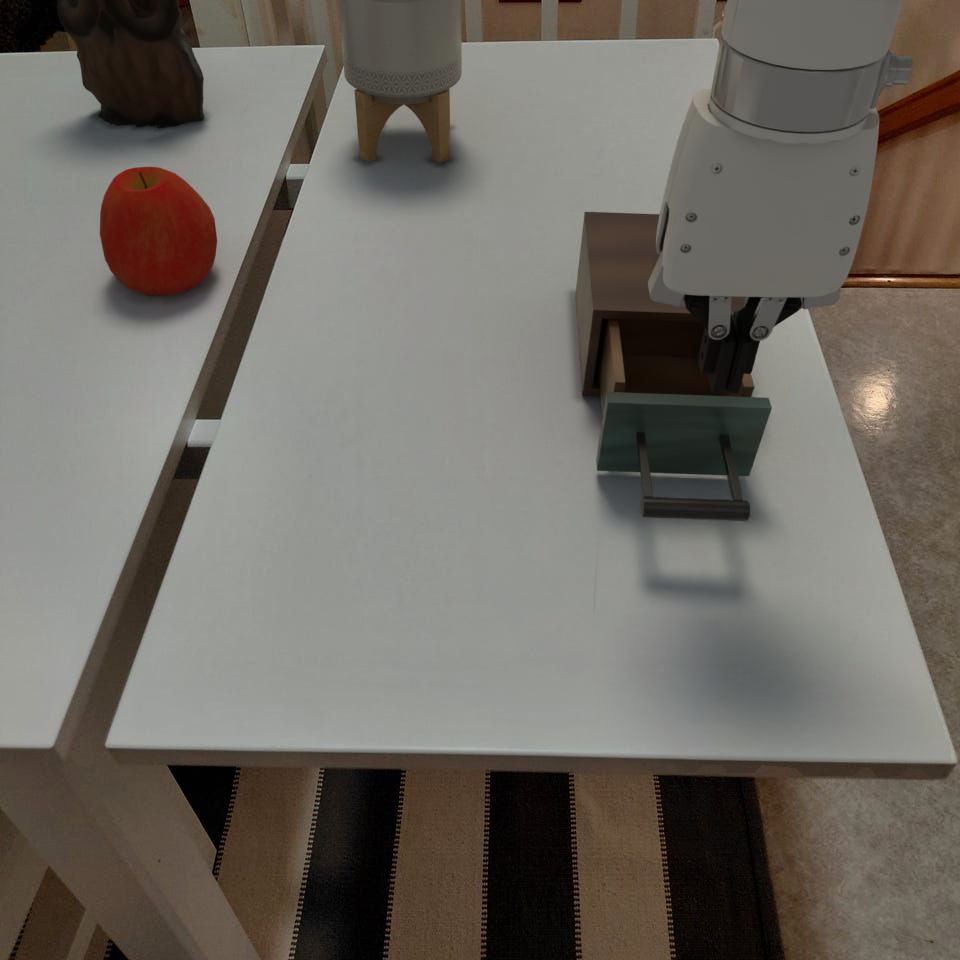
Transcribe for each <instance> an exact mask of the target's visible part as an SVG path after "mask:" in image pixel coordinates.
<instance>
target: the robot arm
mask: <svg viewBox="0 0 960 960" xmlns="http://www.w3.org/2000/svg"><path fill="white" fill-rule="evenodd" d="M903 4H904V0H727V1H726V5H725V11H724V12H725V13H724V16H723V21H722V27H721V32H720V38H719V44H718V49H717V55H716V59H715V67H714V72H713V77H712V82H711V87H710V88H705V89H701V90H699V91H697V92H696V93H695V94H694V95H693V97H692V99H691V102H690V104H689V106H688V109H687V111H686V114H685V116H684V121H683V123H682V126H681V129H680V132H679V135H678V138H677V141H676V146H675V149H674V151H673V156H672V160H671V163H670V167H669V171H668V175H667V179H666V185H665V187H664V192H663V197H662V202H661V206H660V210H659V214H660V215H659V220H658V226H657V233H656V252H657V254H660V256H659V258H658V261H657V263H656V265H655V267H654V270H653V272H652V274H651V276H650V279H649V281H648V288H649V294H650V298H651V299H652V301H655V302H658V303H663V304H667V305H671V306H676V307H680V306H681V307H686V309H687V310H688V311H689V312H690V313H691V314H692V315H693V316H694V317H695V318H696V319H697V320H698V321H699V322H700V323H701V324H702V325H703V326H704V327H705V329H704V334H703V338H702V343H701V348H700V352H699V369H700V372H701V373H707V374H708V379H709V383H710V388H711V392H712V393H721V392H722V391H724V390H725V389H726V391H729V393H733V394H738V393H739V391H740V387H741V383H742V379H743V375H744V374H751V375H752V372H753V369H754V364H755V362H756V357H757V354H758V351H759V347H760V343H761V341H764V340H767V339H768V338H769V337H770V336H771V334H772V331H773V329H774V328H775V327H776V326H778V325H779V324H780V323H782V322H784V321H785V320H787V319H789V318H790V317H792V316H793V315H795V314H797V312H799V311H800V310H801V309H803V311H804V310H805V311H806V310H811V309H815V308H823V307H827V306H832V305H836V304H837V302H839V300H840V298H841V288H842V286H843V285H844V283H845V282H846V280H847V278H848V277H849V274H850V271H851V269H852V266H853V263H854V261H855V257H856V254H857V251H858V247H859V244H860V240H861V236H862V232H863V228H864V224H865V219H866V215H867V212H868V206H869V201H870V198H871V197H870V196H871V191H872V186H873V179H874V172H875V166H876V158H877V151H878V143H879V142H878V141H879V131H880V130H879V129H880V114H879V112H878V111H877V107H876V106H877V103H878V100H879V97H880V95H881V93H882V92H883V90H889V89H890V88H892V87H905V86H907V85H908V83H909V82H910V79H911V75H912V73H913V72H912V71H913V58H912V56H911V55H897V53H896V52H892V51H891V50H890V47H891V43H892V39H893V36H894V34H895V29H896V26H897V24H898V20H899V17H900V13H901V11H902V7H903ZM732 296H735V297H745V299H744V302H743V304H742V309H741V310H739V311H734V315H733V316H731V299H732Z"/></svg>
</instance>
